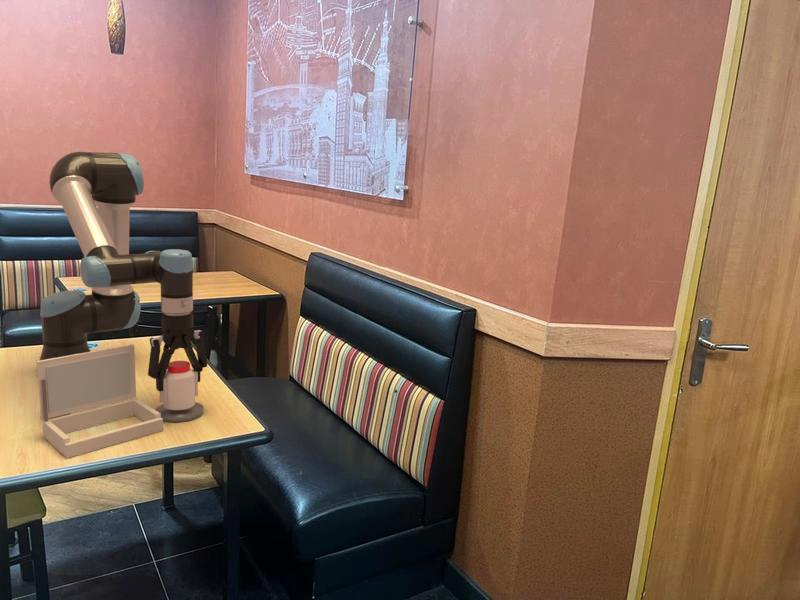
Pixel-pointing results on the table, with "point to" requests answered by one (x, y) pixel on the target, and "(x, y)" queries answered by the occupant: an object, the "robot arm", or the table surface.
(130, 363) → the box
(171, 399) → the pill bottle
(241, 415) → the table surface
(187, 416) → the saucer
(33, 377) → the table surface
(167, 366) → the robot arm
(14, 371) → the table surface
